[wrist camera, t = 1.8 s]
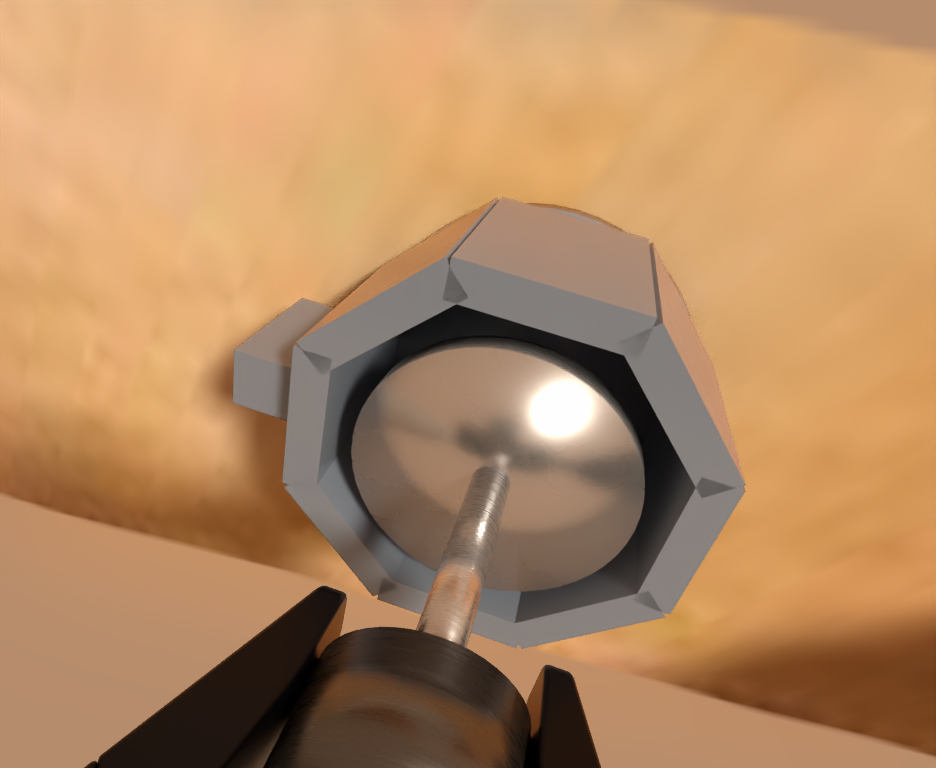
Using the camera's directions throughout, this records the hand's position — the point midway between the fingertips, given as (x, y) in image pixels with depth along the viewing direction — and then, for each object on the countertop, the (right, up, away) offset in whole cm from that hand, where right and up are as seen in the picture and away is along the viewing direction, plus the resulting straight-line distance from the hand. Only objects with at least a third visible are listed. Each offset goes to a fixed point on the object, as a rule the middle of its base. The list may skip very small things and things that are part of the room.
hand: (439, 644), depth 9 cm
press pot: (+2, +4, +8) cm, 9 cm away
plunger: (+1, +2, +4) cm, 4 cm away
